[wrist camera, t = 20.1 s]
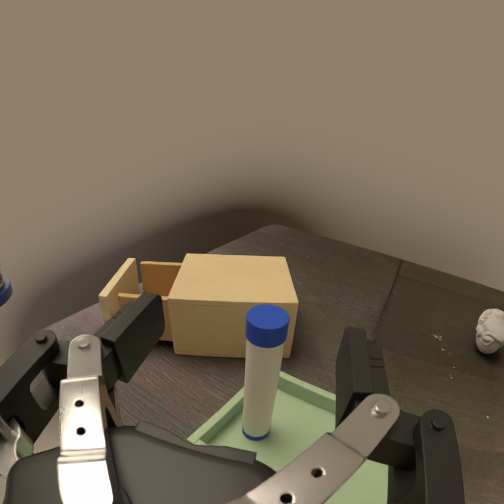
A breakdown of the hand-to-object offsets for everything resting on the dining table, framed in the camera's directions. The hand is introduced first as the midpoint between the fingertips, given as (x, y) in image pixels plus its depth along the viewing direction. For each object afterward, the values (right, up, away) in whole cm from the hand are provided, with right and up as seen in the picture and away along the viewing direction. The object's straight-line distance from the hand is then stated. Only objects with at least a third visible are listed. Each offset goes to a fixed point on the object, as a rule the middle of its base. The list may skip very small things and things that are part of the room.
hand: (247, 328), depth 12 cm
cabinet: (-2, -7, +28) cm, 29 cm away
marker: (+1, -14, +12) cm, 18 cm away
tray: (+6, -16, +9) cm, 19 cm away
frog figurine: (+37, -13, +21) cm, 44 cm away
